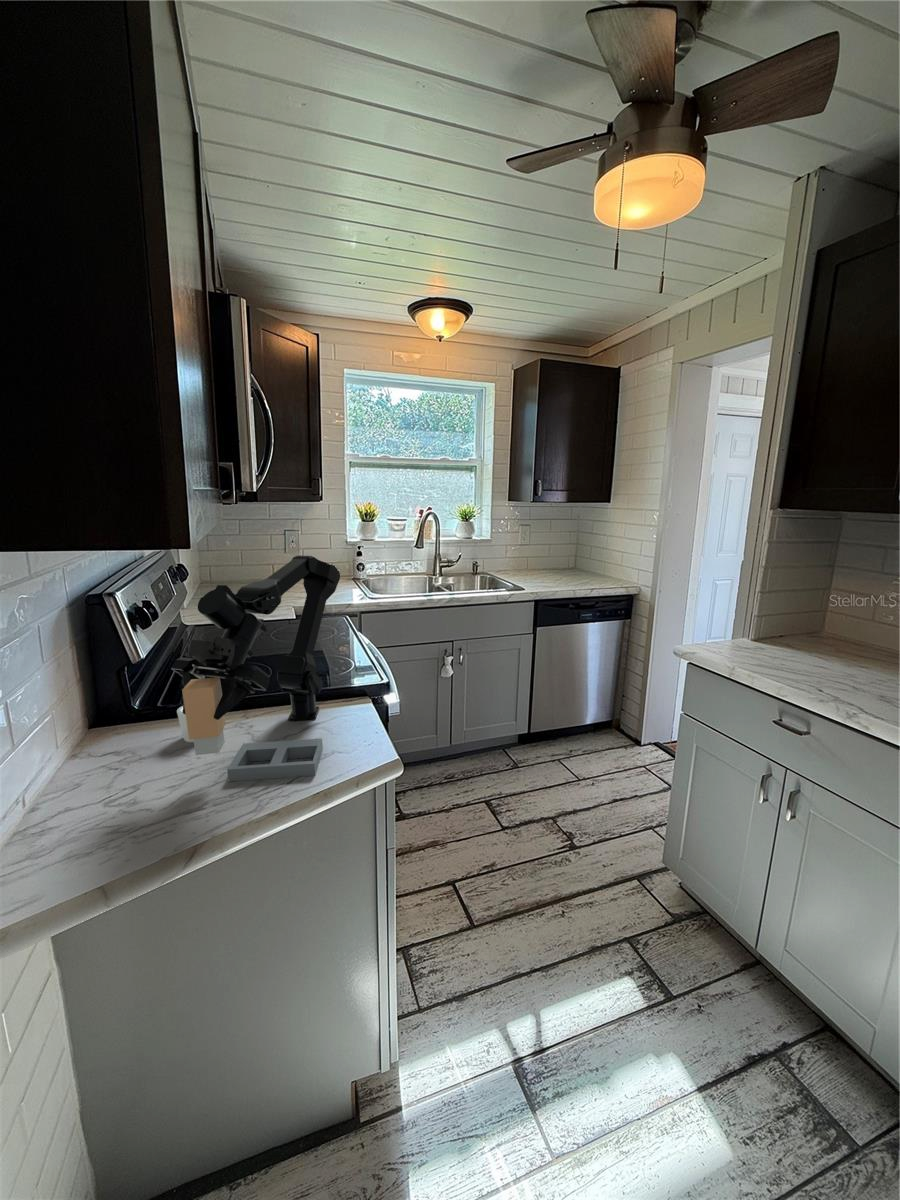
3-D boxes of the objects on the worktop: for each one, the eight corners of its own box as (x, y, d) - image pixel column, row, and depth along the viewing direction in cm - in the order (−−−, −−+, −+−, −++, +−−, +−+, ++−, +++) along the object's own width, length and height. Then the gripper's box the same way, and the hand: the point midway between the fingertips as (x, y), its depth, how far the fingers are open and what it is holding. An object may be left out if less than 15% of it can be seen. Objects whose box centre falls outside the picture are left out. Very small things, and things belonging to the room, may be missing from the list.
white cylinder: (200, 744, 105) (196, 714, 104) (173, 742, 106) (169, 712, 105) (221, 730, 112) (218, 702, 110) (195, 727, 113) (191, 699, 112)
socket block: (244, 754, 101) (243, 743, 100) (322, 749, 102) (322, 738, 102) (228, 781, 91) (227, 769, 91) (315, 775, 93) (314, 763, 92)
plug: (200, 743, 93) (191, 679, 90) (228, 740, 94) (219, 677, 91) (191, 756, 88) (182, 689, 85) (221, 753, 89) (212, 687, 86)
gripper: (172, 617, 92) (127, 693, 84) (253, 623, 86) (213, 706, 79) (209, 644, 101) (172, 716, 93) (284, 652, 95) (251, 729, 88)
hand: (200, 716), depth 88 cm, fingers closed on plug, 7 cm apart
